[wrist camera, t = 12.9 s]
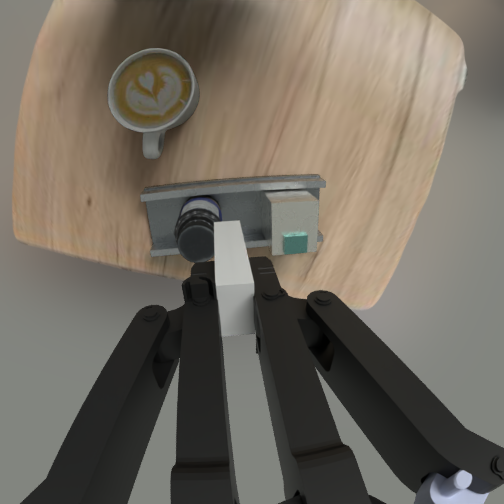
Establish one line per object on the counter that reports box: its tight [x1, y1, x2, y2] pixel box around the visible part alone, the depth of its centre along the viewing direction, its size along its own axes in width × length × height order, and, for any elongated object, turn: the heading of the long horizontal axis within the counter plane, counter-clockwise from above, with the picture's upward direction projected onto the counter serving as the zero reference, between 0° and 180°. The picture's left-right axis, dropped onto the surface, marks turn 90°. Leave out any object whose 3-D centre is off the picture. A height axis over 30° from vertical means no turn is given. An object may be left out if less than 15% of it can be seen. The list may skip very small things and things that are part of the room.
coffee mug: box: [107, 48, 199, 159], centre depth 31 cm, size 13×10×10 cm
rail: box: [140, 174, 326, 257], centre depth 39 cm, size 10×26×10 cm, turn 92°
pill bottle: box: [174, 195, 222, 263], centre depth 37 cm, size 6×6×11 cm
